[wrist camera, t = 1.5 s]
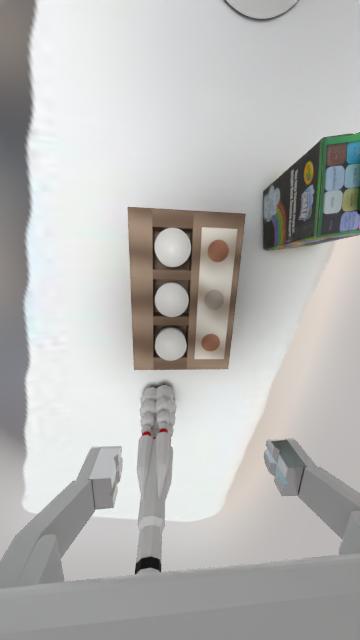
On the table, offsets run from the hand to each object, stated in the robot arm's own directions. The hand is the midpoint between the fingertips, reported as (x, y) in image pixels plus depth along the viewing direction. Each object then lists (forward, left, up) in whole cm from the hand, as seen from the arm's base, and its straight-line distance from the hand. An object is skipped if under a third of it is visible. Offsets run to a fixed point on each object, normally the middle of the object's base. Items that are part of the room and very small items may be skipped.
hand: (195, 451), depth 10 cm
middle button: (-6, -1, -21) cm, 21 cm away
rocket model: (+14, -3, -24) cm, 28 cm away
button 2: (-13, -1, -21) cm, 24 cm away
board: (-6, +1, -23) cm, 24 cm away
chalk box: (-19, +18, -24) cm, 35 cm away
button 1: (+1, -1, -21) cm, 21 cm away
